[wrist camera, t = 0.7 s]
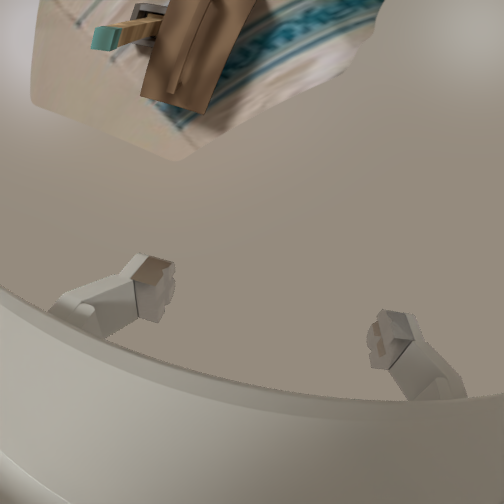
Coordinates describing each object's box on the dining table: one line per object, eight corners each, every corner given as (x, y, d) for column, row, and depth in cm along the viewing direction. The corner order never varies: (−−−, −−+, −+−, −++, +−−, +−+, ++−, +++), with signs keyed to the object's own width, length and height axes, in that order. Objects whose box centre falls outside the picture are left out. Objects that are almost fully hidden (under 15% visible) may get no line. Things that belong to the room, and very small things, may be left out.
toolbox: (122, 77, 44) (95, 95, 37) (160, -36, 25) (134, -43, 17) (211, 101, 50) (198, 123, 42) (265, -12, 30) (264, -19, 23)
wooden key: (145, 32, 37) (86, 52, 23) (152, 12, 33) (92, 23, 20) (165, 36, 38) (112, 56, 25) (173, 16, 35) (120, 25, 21)
